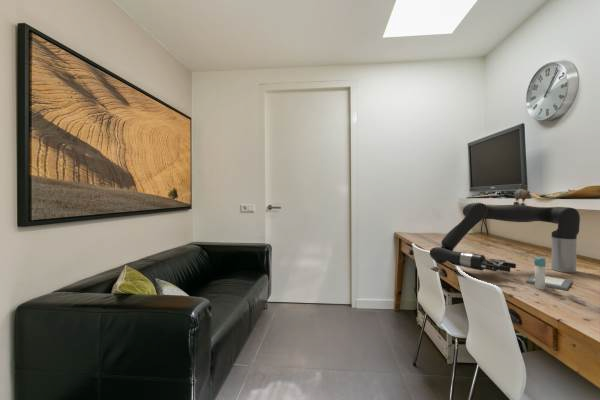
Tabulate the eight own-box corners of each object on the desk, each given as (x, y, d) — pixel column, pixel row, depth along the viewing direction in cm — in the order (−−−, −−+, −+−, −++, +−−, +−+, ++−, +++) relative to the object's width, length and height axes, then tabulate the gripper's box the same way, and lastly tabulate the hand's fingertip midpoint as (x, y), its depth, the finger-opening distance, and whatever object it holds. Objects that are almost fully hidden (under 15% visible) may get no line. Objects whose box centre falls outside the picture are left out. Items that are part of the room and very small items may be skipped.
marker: (535, 286, 114) (535, 256, 114) (546, 288, 111) (546, 258, 111) (533, 288, 112) (533, 258, 111) (544, 290, 109) (544, 259, 109)
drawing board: (534, 275, 129) (534, 273, 129) (572, 282, 118) (572, 279, 118) (526, 282, 119) (526, 279, 119) (566, 290, 108) (566, 287, 108)
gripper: (466, 255, 127) (508, 262, 114) (477, 251, 135) (517, 257, 123) (466, 271, 127) (508, 279, 114) (477, 265, 136) (517, 273, 123)
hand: (513, 267), depth 118 cm, fingers open, 8 cm apart
